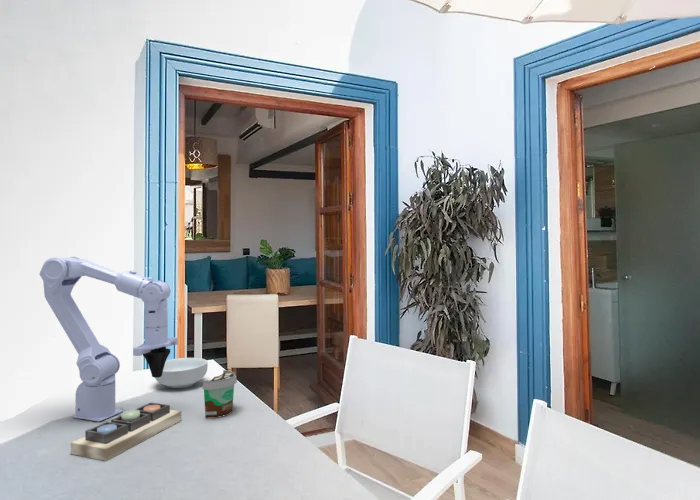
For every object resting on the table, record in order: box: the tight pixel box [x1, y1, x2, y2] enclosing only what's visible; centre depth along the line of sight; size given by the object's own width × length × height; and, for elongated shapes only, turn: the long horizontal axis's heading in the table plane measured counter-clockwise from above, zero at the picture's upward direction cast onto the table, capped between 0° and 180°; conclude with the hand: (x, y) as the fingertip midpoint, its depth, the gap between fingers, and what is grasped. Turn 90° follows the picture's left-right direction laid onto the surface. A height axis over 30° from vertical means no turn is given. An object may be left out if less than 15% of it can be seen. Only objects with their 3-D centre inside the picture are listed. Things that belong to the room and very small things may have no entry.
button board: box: [70, 402, 182, 462], centre depth 112 cm, size 10×24×4 cm, turn 161°
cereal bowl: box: [154, 357, 209, 389], centre depth 153 cm, size 17×17×7 cm
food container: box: [202, 369, 238, 418], centre depth 128 cm, size 12×6×10 cm, turn 168°
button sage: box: [121, 409, 140, 422], centre depth 112 cm, size 4×4×2 cm
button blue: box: [97, 424, 117, 433], centre depth 105 cm, size 4×4×2 cm
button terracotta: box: [143, 405, 160, 412], centre depth 119 cm, size 4×4×2 cm
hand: (156, 376), depth 126 cm, fingers closed
